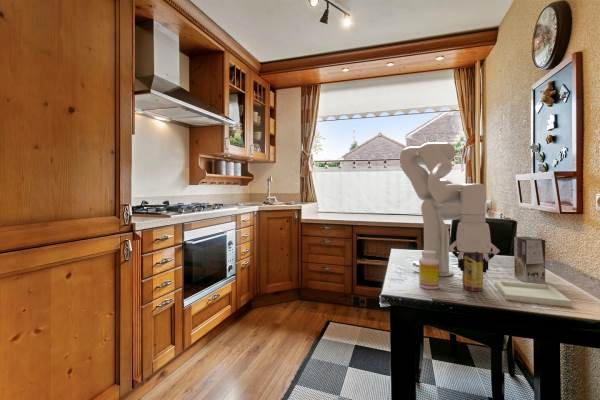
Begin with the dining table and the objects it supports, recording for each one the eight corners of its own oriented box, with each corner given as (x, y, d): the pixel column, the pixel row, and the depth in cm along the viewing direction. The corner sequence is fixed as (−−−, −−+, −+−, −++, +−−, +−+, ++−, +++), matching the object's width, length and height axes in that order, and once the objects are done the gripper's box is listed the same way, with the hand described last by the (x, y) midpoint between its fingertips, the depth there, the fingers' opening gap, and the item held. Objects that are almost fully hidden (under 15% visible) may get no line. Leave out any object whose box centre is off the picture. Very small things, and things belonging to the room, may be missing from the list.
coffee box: (546, 284, 108) (546, 240, 108) (526, 283, 110) (526, 239, 109) (532, 277, 117) (532, 236, 117) (513, 276, 119) (513, 236, 118)
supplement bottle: (441, 290, 104) (441, 253, 104) (421, 289, 105) (421, 253, 105) (436, 284, 111) (436, 249, 110) (417, 283, 112) (417, 249, 111)
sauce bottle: (459, 286, 108) (458, 231, 107) (476, 286, 107) (476, 231, 107) (468, 292, 101) (468, 234, 101) (487, 292, 101) (487, 233, 100)
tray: (505, 300, 94) (505, 294, 94) (495, 285, 108) (495, 280, 108) (570, 306, 88) (570, 300, 87) (550, 290, 102) (550, 284, 102)
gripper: (445, 219, 103) (445, 271, 104) (505, 221, 97) (505, 276, 97) (444, 218, 110) (444, 266, 111) (499, 218, 104) (499, 270, 104)
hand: (472, 270), depth 104 cm, fingers closed on sauce bottle, 6 cm apart
